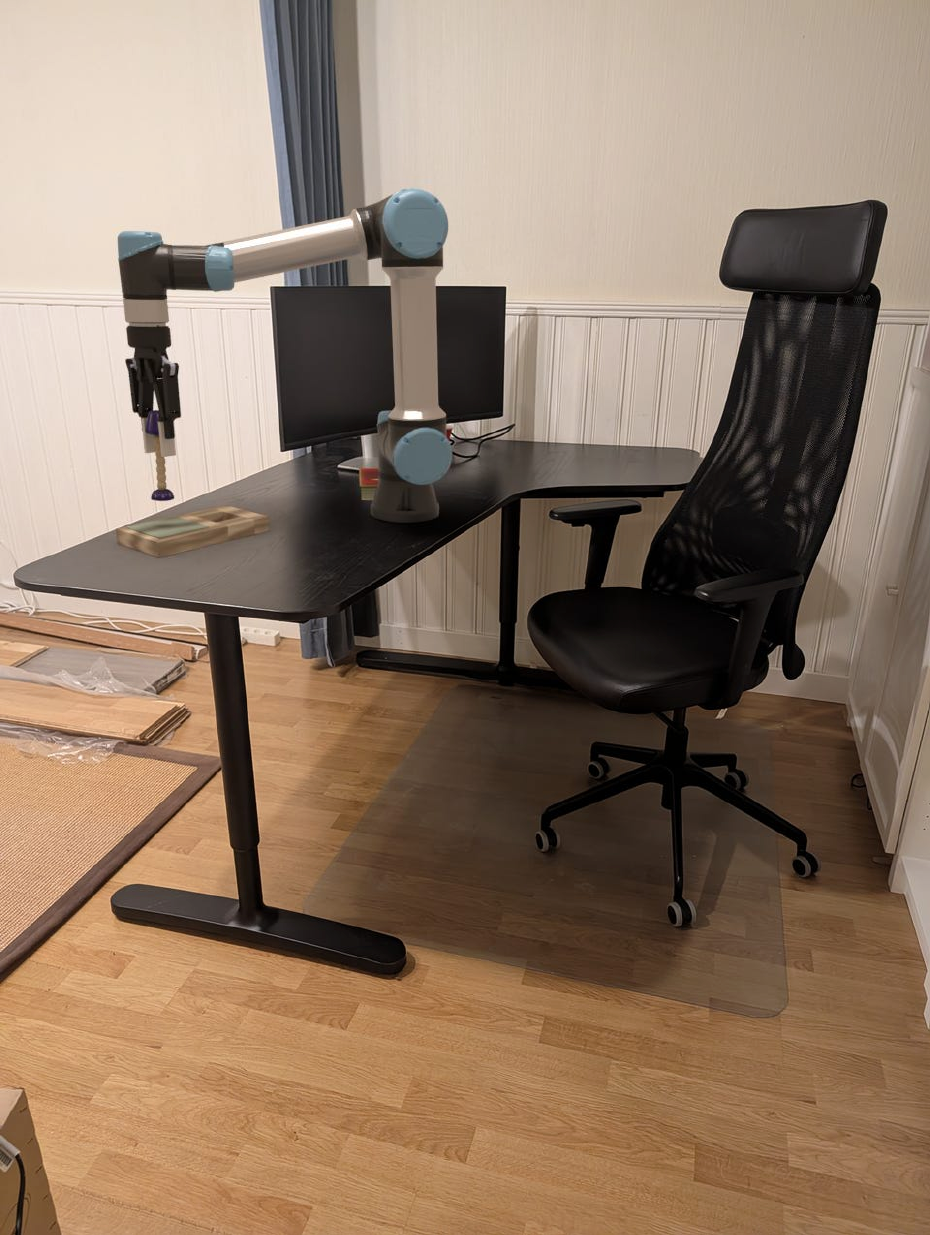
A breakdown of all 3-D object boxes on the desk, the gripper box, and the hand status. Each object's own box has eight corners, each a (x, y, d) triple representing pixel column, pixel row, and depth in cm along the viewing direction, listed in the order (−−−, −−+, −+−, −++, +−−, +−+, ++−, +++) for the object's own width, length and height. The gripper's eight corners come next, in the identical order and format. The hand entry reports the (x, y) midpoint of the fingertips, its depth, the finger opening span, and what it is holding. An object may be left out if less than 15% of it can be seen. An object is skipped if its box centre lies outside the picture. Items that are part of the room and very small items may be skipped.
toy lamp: (174, 495, 176) (166, 408, 170) (180, 500, 172) (171, 412, 166) (149, 497, 173) (140, 409, 168) (154, 502, 170) (144, 413, 164)
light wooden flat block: (269, 530, 186) (268, 515, 184) (159, 557, 167) (157, 540, 165) (227, 518, 194) (225, 503, 193) (117, 543, 175) (115, 527, 174)
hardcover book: (405, 482, 233) (405, 466, 232) (410, 501, 214) (410, 484, 212) (359, 483, 232) (359, 466, 230) (360, 502, 212) (359, 484, 211)
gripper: (195, 326, 159) (205, 457, 167) (138, 321, 169) (151, 445, 177) (157, 327, 153) (170, 463, 162) (101, 322, 164) (116, 450, 172)
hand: (160, 453), depth 170 cm, fingers closed on toy lamp, 5 cm apart
